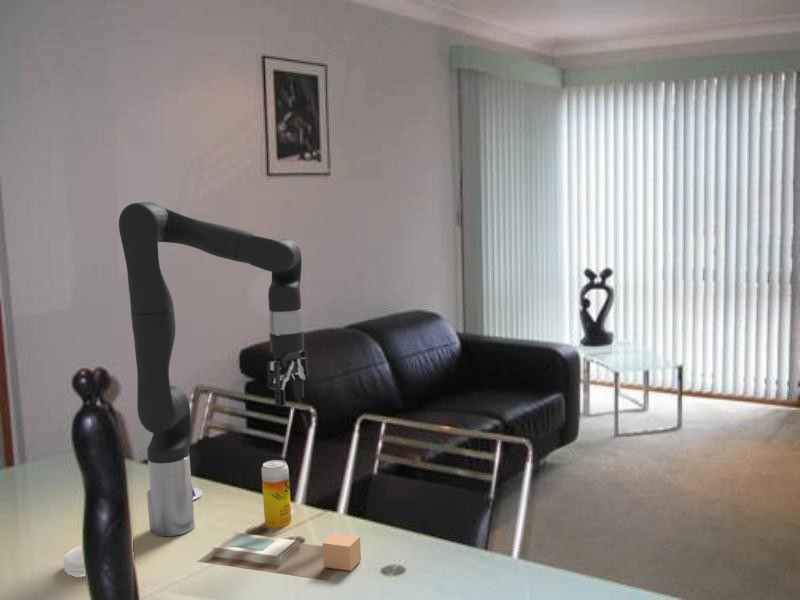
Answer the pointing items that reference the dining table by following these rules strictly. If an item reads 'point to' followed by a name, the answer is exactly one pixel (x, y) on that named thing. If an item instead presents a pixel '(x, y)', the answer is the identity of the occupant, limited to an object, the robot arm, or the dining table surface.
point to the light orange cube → (341, 551)
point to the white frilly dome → (74, 562)
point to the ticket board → (291, 567)
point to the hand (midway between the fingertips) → (290, 401)
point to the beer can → (276, 494)
